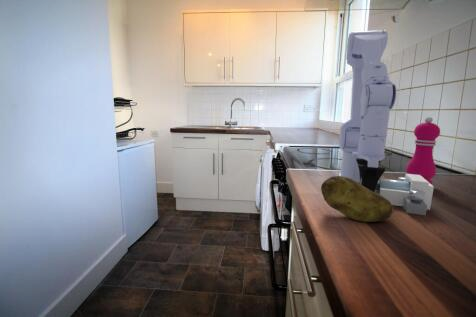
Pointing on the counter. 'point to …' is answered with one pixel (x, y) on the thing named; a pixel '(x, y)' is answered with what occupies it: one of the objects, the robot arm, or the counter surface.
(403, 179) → the plunger left
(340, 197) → the potato
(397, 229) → the counter surface
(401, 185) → the cartridge
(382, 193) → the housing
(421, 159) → the pepper mill
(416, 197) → the plunger right
